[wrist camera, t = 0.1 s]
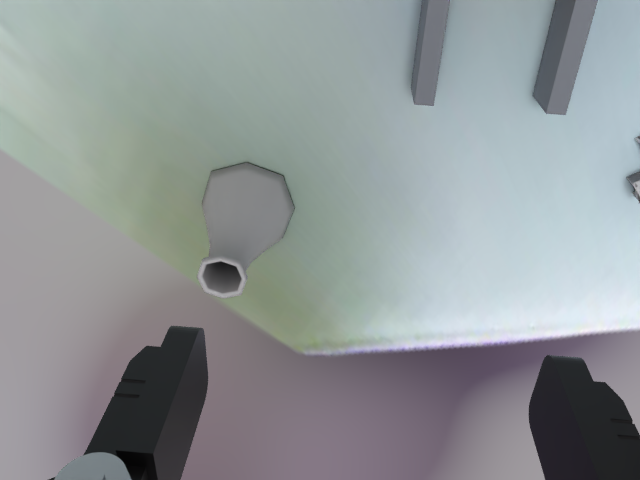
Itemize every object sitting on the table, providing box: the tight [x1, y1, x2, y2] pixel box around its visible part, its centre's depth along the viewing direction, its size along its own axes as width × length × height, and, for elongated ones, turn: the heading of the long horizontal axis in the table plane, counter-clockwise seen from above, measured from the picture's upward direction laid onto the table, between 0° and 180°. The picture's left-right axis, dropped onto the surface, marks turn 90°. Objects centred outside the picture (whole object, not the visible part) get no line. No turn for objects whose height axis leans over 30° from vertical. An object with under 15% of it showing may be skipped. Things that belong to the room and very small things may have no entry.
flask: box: [197, 163, 295, 298], centre depth 41 cm, size 7×7×10 cm
